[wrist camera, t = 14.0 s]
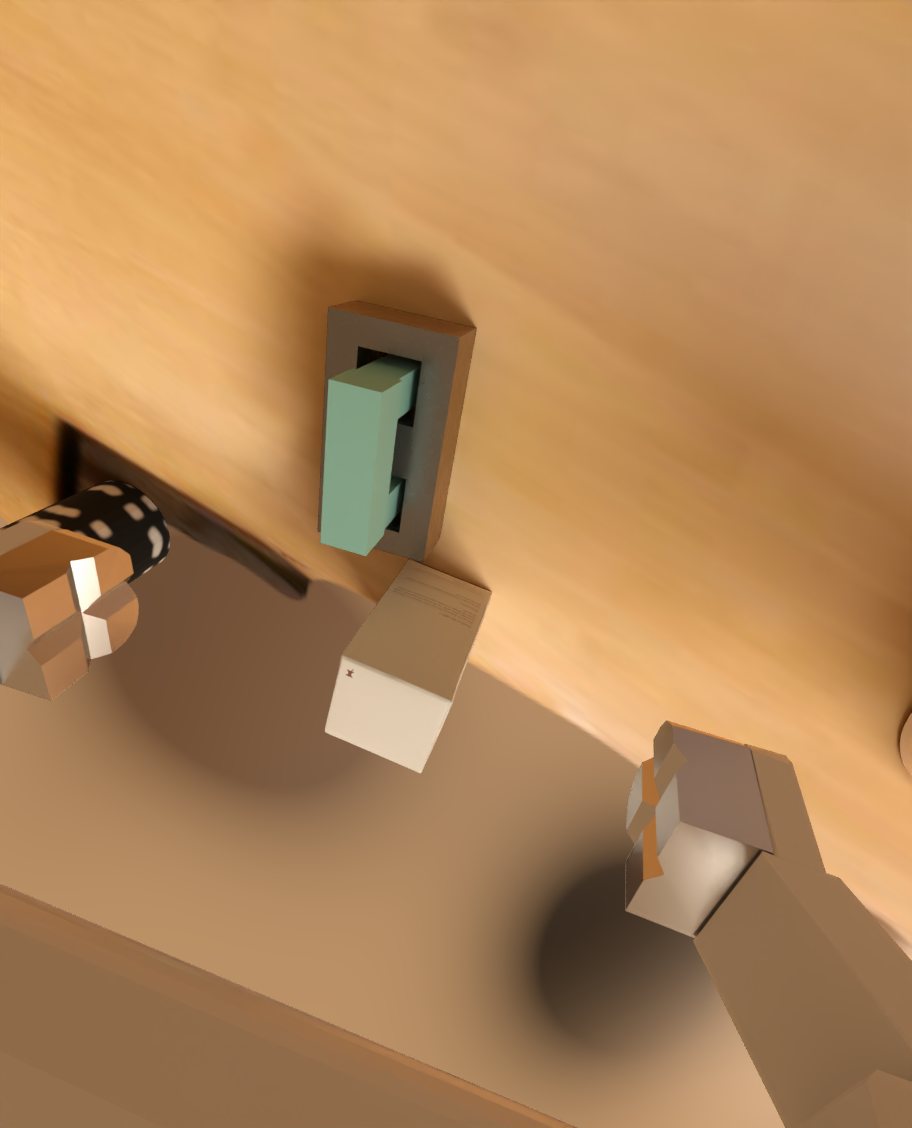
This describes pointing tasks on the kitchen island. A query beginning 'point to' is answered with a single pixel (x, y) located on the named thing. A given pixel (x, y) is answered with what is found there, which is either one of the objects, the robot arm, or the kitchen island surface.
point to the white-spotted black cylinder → (113, 521)
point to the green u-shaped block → (364, 451)
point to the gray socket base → (423, 428)
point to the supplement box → (407, 665)
